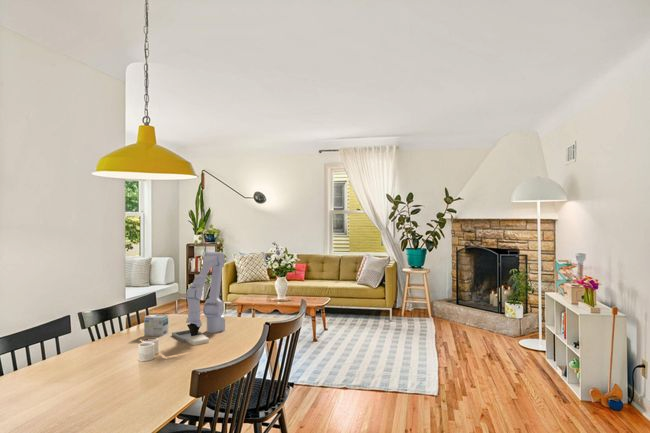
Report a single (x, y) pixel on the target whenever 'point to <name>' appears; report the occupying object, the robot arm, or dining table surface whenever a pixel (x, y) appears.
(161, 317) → the light bulb box
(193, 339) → the cover plate
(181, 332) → the open box
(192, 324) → the robot arm
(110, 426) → the dining table surface
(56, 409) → the dining table surface
